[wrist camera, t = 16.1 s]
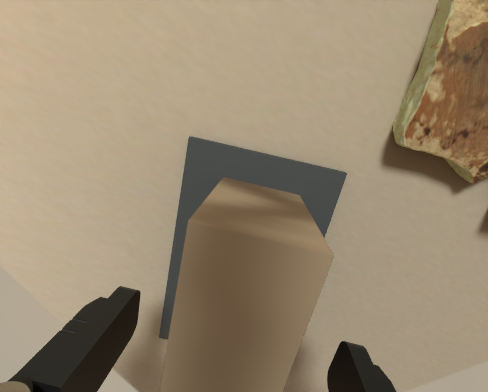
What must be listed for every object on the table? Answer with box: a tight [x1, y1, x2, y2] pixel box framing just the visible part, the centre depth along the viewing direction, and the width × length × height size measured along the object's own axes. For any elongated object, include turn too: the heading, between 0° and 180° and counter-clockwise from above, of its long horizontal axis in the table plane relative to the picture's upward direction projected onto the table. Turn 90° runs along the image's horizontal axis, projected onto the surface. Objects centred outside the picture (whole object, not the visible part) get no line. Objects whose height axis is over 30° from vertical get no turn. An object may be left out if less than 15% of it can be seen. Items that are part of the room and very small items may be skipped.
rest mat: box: [159, 136, 347, 339], centre depth 14 cm, size 8×13×1 cm, turn 167°
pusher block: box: [159, 177, 334, 392], centre depth 11 cm, size 4×10×6 cm, turn 167°
